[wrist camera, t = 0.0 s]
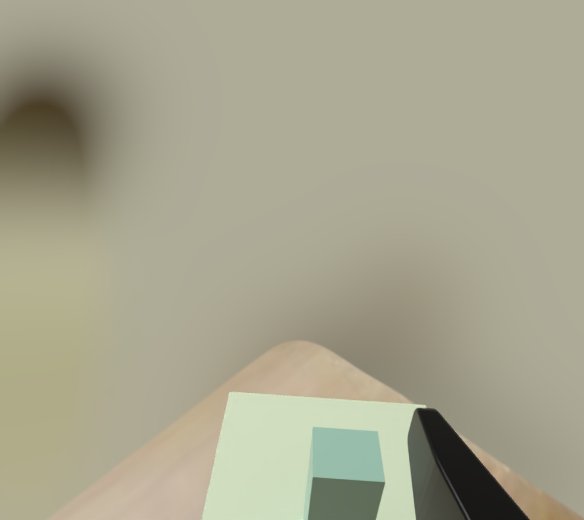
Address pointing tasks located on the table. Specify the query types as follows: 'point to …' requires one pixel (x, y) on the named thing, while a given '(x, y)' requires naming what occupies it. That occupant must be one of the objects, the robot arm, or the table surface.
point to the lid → (311, 460)
